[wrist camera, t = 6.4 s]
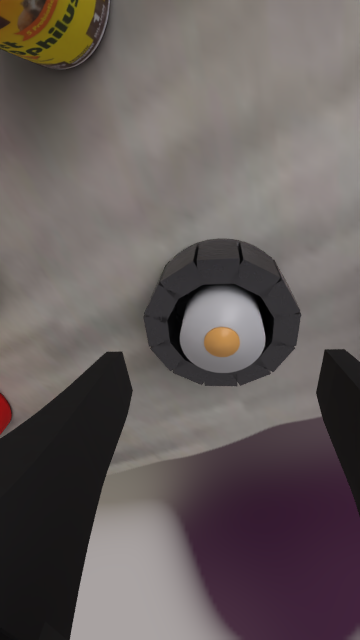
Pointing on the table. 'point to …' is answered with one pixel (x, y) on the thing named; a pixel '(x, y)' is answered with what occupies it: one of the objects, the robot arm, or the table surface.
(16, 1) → the supplement bottle
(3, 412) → the soda can
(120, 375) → the robot arm
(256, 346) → the boiled egg half
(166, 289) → the dark grey round ring
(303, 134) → the table surface
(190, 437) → the table surface
